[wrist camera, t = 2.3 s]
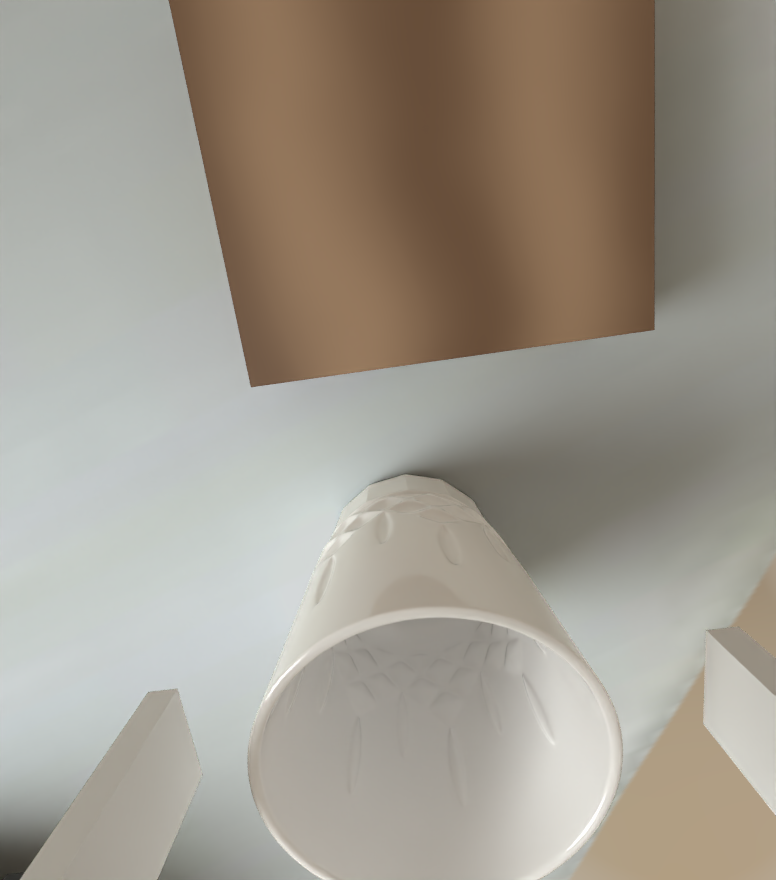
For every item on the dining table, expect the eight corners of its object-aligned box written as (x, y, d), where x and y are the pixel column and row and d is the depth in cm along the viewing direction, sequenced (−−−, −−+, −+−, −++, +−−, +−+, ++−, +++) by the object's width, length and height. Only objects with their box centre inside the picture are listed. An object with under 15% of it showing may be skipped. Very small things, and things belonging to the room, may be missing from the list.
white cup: (416, 420, 18) (453, 528, 8) (540, 552, 19) (699, 780, 9) (279, 544, 19) (167, 768, 9) (404, 659, 20) (421, 959, 11)
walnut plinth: (281, 374, 17) (250, 387, 13) (209, 5, 15) (144, -114, 11) (593, 330, 17) (654, 329, 13) (581, -57, 14) (654, -204, 10)
